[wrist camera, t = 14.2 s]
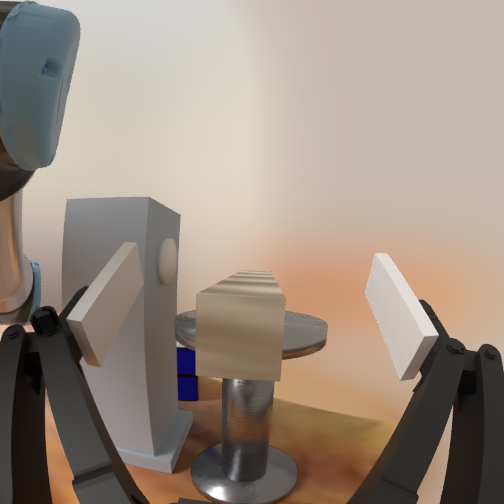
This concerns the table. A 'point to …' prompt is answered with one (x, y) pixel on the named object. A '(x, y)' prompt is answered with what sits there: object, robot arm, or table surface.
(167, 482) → the table surface
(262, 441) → the metal pedestal stand
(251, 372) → the beech bar
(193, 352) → the puzzle cube
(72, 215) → the stand
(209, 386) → the table surface
